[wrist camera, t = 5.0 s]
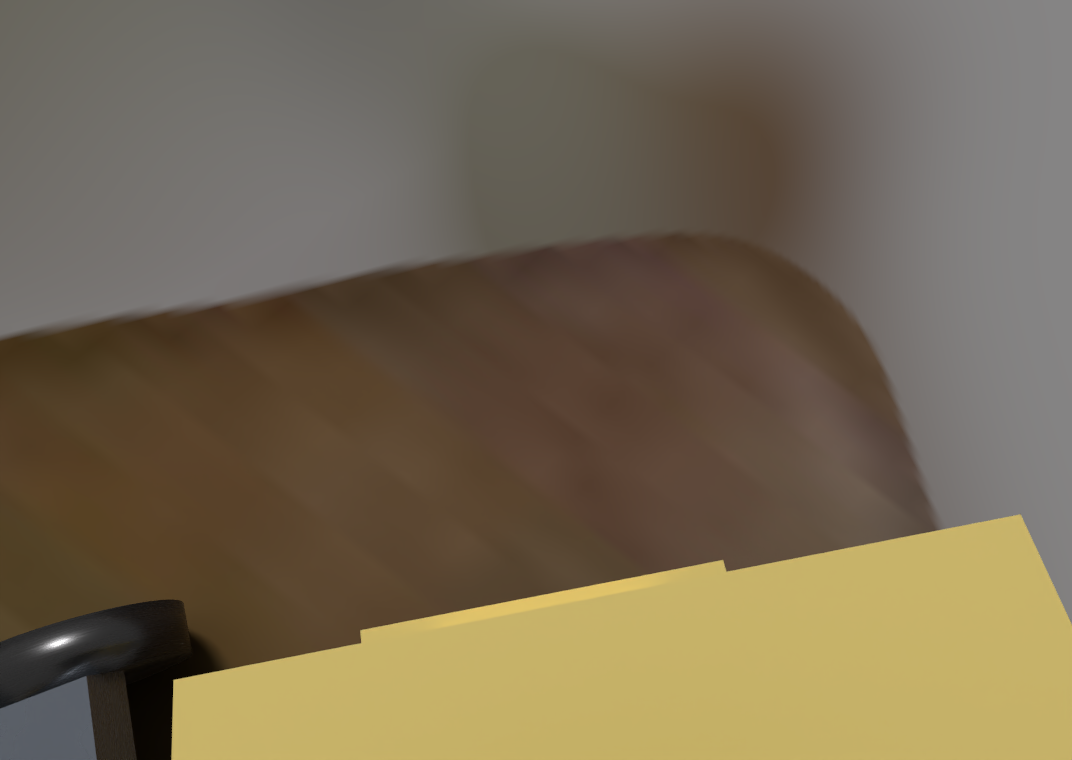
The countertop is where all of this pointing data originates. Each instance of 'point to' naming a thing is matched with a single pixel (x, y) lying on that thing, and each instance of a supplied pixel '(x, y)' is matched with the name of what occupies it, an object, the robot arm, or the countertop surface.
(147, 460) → the countertop surface
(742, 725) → the yellow block on base
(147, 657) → the trolley
